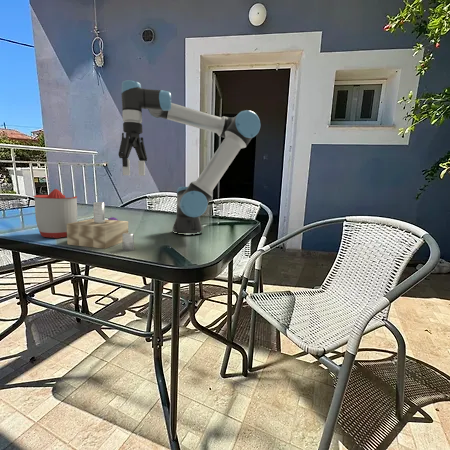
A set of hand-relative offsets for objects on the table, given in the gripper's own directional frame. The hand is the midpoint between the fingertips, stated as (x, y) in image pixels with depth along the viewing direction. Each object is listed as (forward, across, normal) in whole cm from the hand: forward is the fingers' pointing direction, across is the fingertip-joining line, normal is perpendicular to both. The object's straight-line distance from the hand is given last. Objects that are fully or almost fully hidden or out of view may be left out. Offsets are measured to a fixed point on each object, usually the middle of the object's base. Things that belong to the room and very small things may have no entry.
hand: (134, 175), depth 113 cm
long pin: (+27, +11, -10) cm, 31 cm away
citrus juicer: (+26, +7, -32) cm, 42 cm away
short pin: (+27, +18, +5) cm, 33 cm away
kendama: (+27, -9, -22) cm, 36 cm away
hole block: (+27, +12, -10) cm, 31 cm away
